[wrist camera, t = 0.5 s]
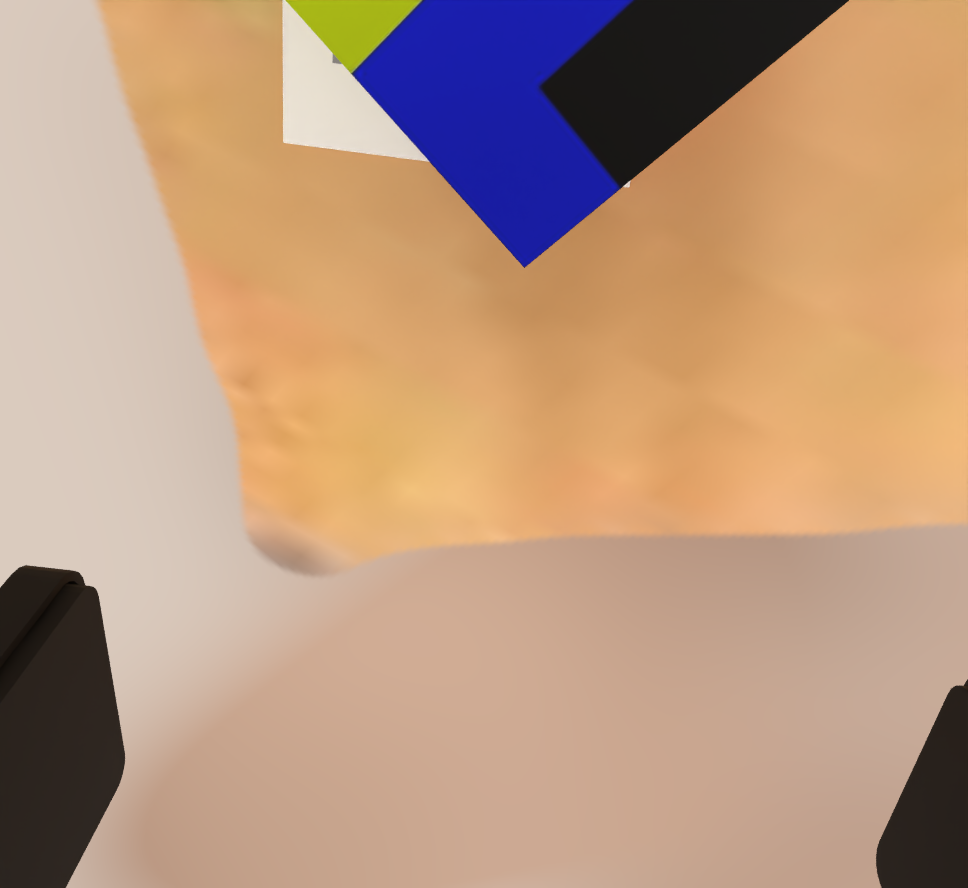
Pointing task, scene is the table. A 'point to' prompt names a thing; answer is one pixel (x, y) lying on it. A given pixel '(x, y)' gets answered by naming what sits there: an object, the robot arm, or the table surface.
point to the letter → (332, 100)
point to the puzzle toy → (552, 89)
